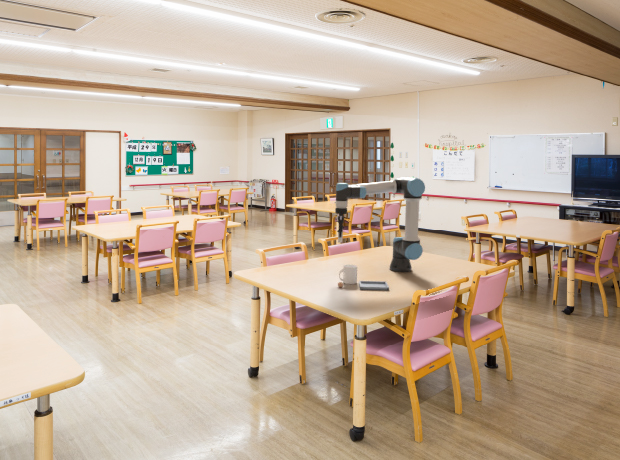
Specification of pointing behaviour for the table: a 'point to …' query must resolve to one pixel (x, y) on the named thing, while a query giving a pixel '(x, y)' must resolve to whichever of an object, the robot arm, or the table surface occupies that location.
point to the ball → (340, 284)
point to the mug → (349, 274)
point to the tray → (373, 285)
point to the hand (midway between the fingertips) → (340, 240)
